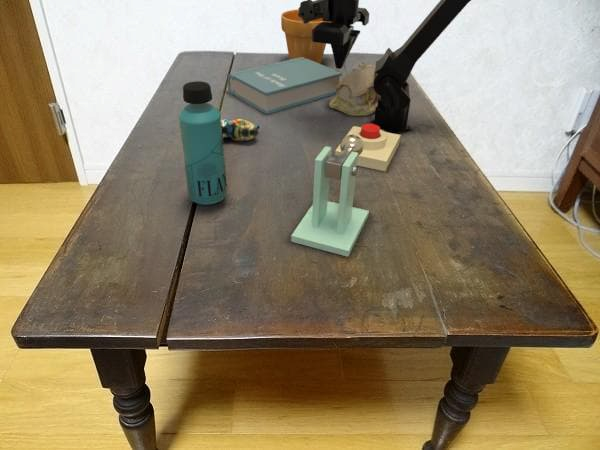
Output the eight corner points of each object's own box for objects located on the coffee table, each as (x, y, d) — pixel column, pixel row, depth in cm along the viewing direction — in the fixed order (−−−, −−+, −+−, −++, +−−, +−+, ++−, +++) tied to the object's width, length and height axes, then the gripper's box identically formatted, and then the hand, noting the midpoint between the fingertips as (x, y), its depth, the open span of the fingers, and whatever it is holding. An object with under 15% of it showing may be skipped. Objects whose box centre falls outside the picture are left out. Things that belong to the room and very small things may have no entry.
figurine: (193, 114, 104) (262, 116, 102) (194, 134, 105) (262, 137, 104) (177, 119, 94) (254, 122, 92) (178, 142, 95) (254, 145, 94)
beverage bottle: (195, 217, 77) (180, 96, 65) (183, 196, 82) (167, 80, 70) (234, 207, 79) (226, 89, 67) (220, 187, 84) (210, 74, 72)
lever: (343, 150, 78) (345, 129, 76) (364, 154, 77) (367, 133, 75) (319, 179, 69) (321, 156, 67) (343, 185, 68) (346, 162, 66)
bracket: (316, 204, 81) (320, 134, 73) (368, 216, 78) (377, 145, 70) (290, 241, 72) (292, 167, 65) (348, 257, 70) (356, 181, 62)
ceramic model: (351, 120, 108) (356, 76, 102) (321, 103, 115) (323, 61, 109) (396, 106, 115) (403, 64, 109) (365, 91, 122) (369, 51, 116)
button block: (352, 135, 102) (354, 117, 99) (399, 144, 99) (402, 126, 97) (334, 160, 93) (335, 142, 90) (385, 171, 90) (388, 152, 88)
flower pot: (340, 63, 139) (344, 15, 131) (308, 75, 130) (310, 24, 123) (303, 52, 146) (304, 6, 139) (270, 63, 138) (270, 14, 130)
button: (363, 130, 96) (364, 122, 94) (381, 133, 94) (382, 125, 93) (358, 137, 93) (359, 129, 92) (376, 141, 92) (377, 133, 91)
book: (266, 114, 109) (266, 93, 106) (228, 92, 119) (227, 72, 116) (340, 92, 121) (341, 73, 118) (299, 74, 131) (300, 55, 128)
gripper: (321, -27, 100) (317, 50, 109) (285, -11, 86) (285, 76, 95) (373, -22, 97) (365, 57, 106) (345, -4, 83) (339, 85, 92)
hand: (339, 68), depth 100 cm, fingers closed
